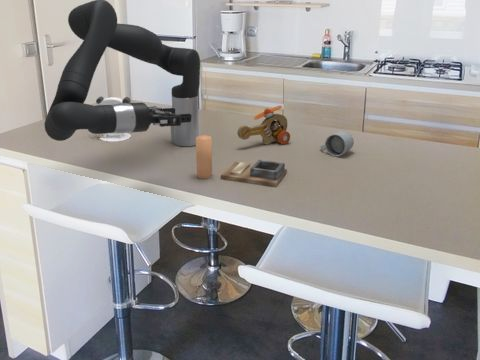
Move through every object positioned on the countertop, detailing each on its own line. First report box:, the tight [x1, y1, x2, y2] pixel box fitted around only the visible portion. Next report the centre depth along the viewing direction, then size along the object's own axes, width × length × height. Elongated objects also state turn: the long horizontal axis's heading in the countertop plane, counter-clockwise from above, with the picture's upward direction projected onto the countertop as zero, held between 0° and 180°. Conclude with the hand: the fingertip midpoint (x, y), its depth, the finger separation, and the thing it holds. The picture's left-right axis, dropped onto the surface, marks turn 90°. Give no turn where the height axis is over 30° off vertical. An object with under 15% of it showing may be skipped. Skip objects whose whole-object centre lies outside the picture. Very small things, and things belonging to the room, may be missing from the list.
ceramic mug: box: [319, 130, 355, 157], centre depth 167 cm, size 11×8×8 cm
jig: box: [220, 159, 288, 188], centre depth 146 cm, size 17×12×4 cm
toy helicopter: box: [237, 105, 291, 145], centre depth 172 cm, size 8×21×14 cm, turn 123°
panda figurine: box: [95, 96, 132, 143], centre depth 178 cm, size 12×11×15 cm
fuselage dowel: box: [195, 134, 213, 180], centre depth 144 cm, size 5×5×12 cm
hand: (182, 114), depth 134 cm, fingers open, 8 cm apart
